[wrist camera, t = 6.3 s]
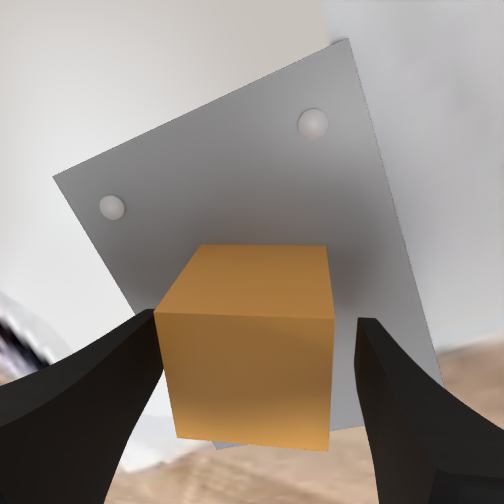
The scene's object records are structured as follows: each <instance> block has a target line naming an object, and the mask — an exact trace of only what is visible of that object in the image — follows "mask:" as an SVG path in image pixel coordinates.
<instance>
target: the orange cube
mask: <svg viewBox="0 0 504 504" xmlns="http://www.w3.org/2000/svg"><path fill="white" fill-rule="evenodd" d="M153 313H154V318H155V324H156V329H157V334H158V339H159V345H160V350H161V355H162V361H163V366H164V371H165V376H166V382H167V387H168V392H169V398H170V402H171V408H172V413H173V419H174V424H175V429H176V435H177V438H185V439H196V440H207V441H217V442H228V443H239V444H250V445H261V446H272V447H283V448H293V449H304V450H315V451H326V452H328V448H329V429H330V409H331V390H332V371H333V352H334V333H335V313H334V305H333V298H332V290H331V282H330V274H329V266H328V258H327V250H326V245H226V244H201V245H200V247H199V248H198V250H197V251H196V252H195V254H194V255H193V257H192V258H191V259H190V261H189V262H188V264H187V265H186V267H185V268H184V269H183V271H182V272H181V274H180V275H179V276H178V278H177V279H176V281H175V282H174V284H173V285H172V286H171V288H170V289H169V291H168V292H167V293H166V295H165V296H164V298H163V299H162V301H161V302H160V303H159V305H158V306H157V308H156V309H155V310H154V312H153Z"/></svg>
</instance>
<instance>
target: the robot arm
mask: <svg viewBox="0 0 504 504" xmlns="http://www.w3.org/2000/svg"><path fill="white" fill-rule="evenodd" d="M154 310H155V309H145V310H143V311H141V312H140V313H138V314H137V315H135V316H133V317H132V318H130V319H129V320H127V321H126V322H124V323H123V324H121V325H120V326H118V327H117V328H115V329H113V330H112V331H110V332H109V333H107V334H106V335H104V336H103V337H101V338H99V339H97V340H96V341H94V342H93V343H91V344H89V345H88V346H86V347H84V348H83V349H81V350H79V351H77V352H75V353H74V354H72V355H70V356H68V357H66V358H64V359H62V360H60V361H58V362H56V363H54V364H52V365H50V366H48V367H46V368H44V369H41V370H39V371H37V372H34V373H32V374H29V375H27V376H25V377H22V378H20V379H18V380H15V381H13V382H10V383H7V384H5V385H2V386H0V504H104V501H105V498H106V495H107V493H108V490H109V487H110V485H111V482H112V479H113V477H114V474H115V471H116V469H117V466H118V464H119V461H120V459H121V456H122V454H123V451H124V449H125V446H126V444H127V441H128V439H129V437H130V435H131V433H132V431H133V429H134V427H135V425H136V423H137V421H138V419H139V417H140V416H141V414H142V412H143V410H144V408H145V406H146V404H147V402H148V400H149V398H150V397H151V395H152V392H153V391H154V389H155V387H156V385H157V383H158V381H159V379H160V377H161V375H162V372H163V369H164V366H163V361H162V355H161V350H160V345H159V339H158V334H157V329H156V324H155V318H154V313H153V312H154ZM354 372H355V381H356V390H357V394H358V399H359V403H360V407H361V411H362V416H363V420H364V424H365V428H366V432H367V436H368V441H369V445H370V449H371V454H372V459H373V464H374V470H375V477H376V485H377V492H378V499H379V504H504V430H503V429H501V428H500V427H498V426H496V425H495V424H493V423H492V422H490V421H489V420H487V419H485V418H484V417H483V416H481V415H480V414H478V413H477V412H475V411H474V410H472V409H471V408H470V407H468V406H467V405H465V404H464V403H463V402H461V401H460V400H459V399H457V398H456V397H455V396H453V395H452V394H451V393H450V392H448V391H447V390H446V389H445V388H443V387H442V386H441V385H440V384H438V383H437V382H436V381H435V380H434V379H433V378H431V377H430V376H429V375H428V374H427V373H426V372H425V371H424V370H423V369H422V368H421V367H420V366H419V365H418V364H417V363H416V362H415V361H414V360H413V359H412V358H411V357H410V356H409V355H408V354H407V353H406V352H405V351H404V350H403V349H402V348H401V347H400V345H399V344H398V343H397V342H396V341H395V340H394V339H393V337H392V336H391V335H390V334H389V333H388V332H387V330H386V329H385V328H384V327H383V325H382V324H381V323H380V322H379V321H378V320H377V319H376V318H366V317H358V319H357V331H356V342H355V353H354Z"/></svg>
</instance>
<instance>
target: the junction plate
mask: <svg viewBox="0 0 504 504" xmlns="http://www.w3.org/2000/svg"><path fill="white" fill-rule="evenodd" d="M53 179H54V180H55V182H56V183H57V185H58V187H59V189H60V190H61V192H62V193H63V195H64V197H65V198H66V200H67V202H68V203H69V205H70V207H71V208H72V210H73V212H74V213H75V215H76V217H77V218H78V220H79V222H80V223H81V225H82V226H83V228H84V230H85V231H86V233H87V235H88V237H89V238H90V240H91V242H92V243H93V245H94V247H95V248H96V250H97V252H98V253H99V255H100V256H101V258H102V260H103V261H104V263H105V265H106V266H107V268H108V270H109V271H110V273H111V275H112V276H113V278H114V280H115V281H116V283H117V285H118V286H119V288H120V290H121V291H122V293H123V295H124V296H125V298H126V300H127V301H128V303H129V305H130V306H131V308H132V310H133V311H134V313H135V315H137V314H138V313H140V312H141V311H143V310H145V309H156V308H157V306H158V305H159V303H160V302H161V301H162V299H163V298H164V296H165V295H166V293H167V292H168V291H169V289H170V288H171V286H172V285H173V284H174V282H175V281H176V279H177V278H178V276H179V275H180V274H181V272H182V271H183V269H184V268H185V267H186V265H187V264H188V262H189V261H190V259H191V258H192V257H193V255H194V254H195V252H196V251H197V250H198V248H199V247H200V245H201V244H226V245H326V250H327V258H328V266H329V274H330V282H331V290H332V298H333V305H334V313H335V333H334V352H333V371H332V390H331V409H330V429H329V431H333V430H339V429H345V428H352V427H358V426H364V425H365V424H364V420H363V416H362V411H361V407H360V403H359V399H358V394H357V390H356V381H355V372H354V353H355V342H356V331H357V319H358V317H366V318H376V319H377V320H378V321H379V322H380V323H381V324H382V325H383V327H384V328H385V329H386V330H387V332H388V333H389V334H390V335H391V336H392V337H393V339H394V340H395V341H396V342H397V343H398V344H399V345H400V347H401V348H402V349H403V350H404V351H405V352H406V353H407V354H408V355H409V356H410V357H411V358H412V359H413V360H414V361H415V362H416V363H417V364H418V365H419V366H420V367H421V368H422V369H423V370H424V371H425V372H426V373H427V374H428V375H429V376H430V377H431V378H433V379H434V380H435V381H436V382H437V383H438V384H440V385H441V386H442V387H443V388H444V384H443V381H442V377H441V374H440V370H439V366H438V363H437V359H436V355H435V352H434V348H433V344H432V341H431V337H430V334H429V330H428V326H427V323H426V319H425V315H424V312H423V308H422V304H421V301H420V297H419V294H418V290H417V286H416V283H415V279H414V275H413V272H412V268H411V265H410V261H409V257H408V254H407V250H406V246H405V243H404V239H403V235H402V232H401V228H400V225H399V221H398V217H397V214H396V210H395V206H394V203H393V199H392V195H391V192H390V188H389V185H388V181H387V177H386V174H385V170H384V166H383V163H382V159H381V156H380V152H379V148H378V145H377V141H376V137H375V134H374V130H373V126H372V123H371V119H370V116H369V112H368V108H367V105H366V101H365V97H364V94H363V90H362V86H361V83H360V79H359V76H358V72H357V68H356V65H355V61H354V57H353V54H352V50H351V47H350V43H349V39H348V38H346V39H344V40H342V41H340V42H337V43H335V44H333V45H331V46H329V47H327V48H325V49H323V50H321V51H318V52H316V53H314V54H312V55H310V56H308V57H306V58H303V59H301V60H299V61H297V62H295V63H293V64H291V65H289V66H286V67H284V68H282V69H280V70H278V71H276V72H274V73H271V74H269V75H267V76H266V77H263V78H261V79H259V80H257V81H255V82H253V83H250V84H248V85H246V86H244V87H242V88H240V89H238V90H235V91H233V92H231V93H229V94H227V95H225V96H223V97H220V98H218V99H216V100H214V101H212V102H210V103H208V104H206V105H204V106H201V107H199V108H197V109H195V110H193V111H191V112H189V113H186V114H184V115H183V116H180V117H178V118H176V119H174V120H171V121H169V122H167V123H165V124H163V125H161V126H159V127H157V128H155V129H152V130H150V131H148V132H146V133H144V134H142V135H140V136H138V137H135V138H133V139H131V140H129V141H127V142H125V143H123V144H120V145H118V146H116V147H114V148H112V149H110V150H108V151H106V152H103V153H101V154H99V155H97V156H95V157H93V158H91V159H88V160H86V161H84V162H82V163H80V164H78V165H76V166H74V167H71V168H69V169H67V170H65V171H63V172H61V173H59V174H57V175H55V176H53ZM212 442H213V444H214V446H215V447H216V449H217V450H218V449H224V448H230V447H236V446H242V445H248V444H239V443H228V442H217V441H212Z"/></svg>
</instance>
